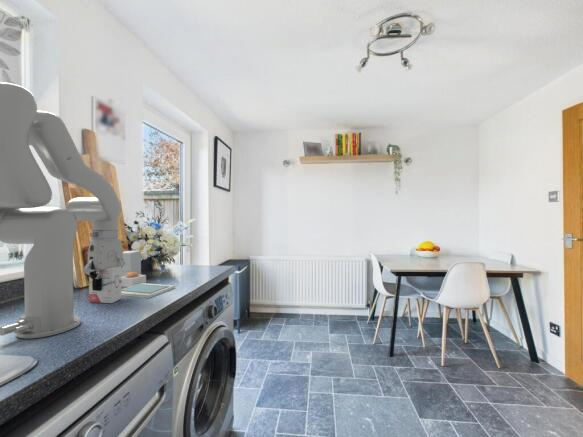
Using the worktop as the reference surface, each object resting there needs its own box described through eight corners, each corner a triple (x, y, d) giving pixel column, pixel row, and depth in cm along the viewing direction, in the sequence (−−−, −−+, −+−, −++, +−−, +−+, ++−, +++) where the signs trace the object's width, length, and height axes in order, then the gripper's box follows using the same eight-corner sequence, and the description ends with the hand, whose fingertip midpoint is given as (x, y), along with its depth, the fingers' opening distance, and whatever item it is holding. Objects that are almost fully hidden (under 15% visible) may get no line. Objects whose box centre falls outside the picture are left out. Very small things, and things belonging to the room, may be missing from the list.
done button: (132, 280, 113) (132, 274, 113) (124, 279, 114) (124, 273, 114) (140, 277, 117) (140, 272, 117) (132, 277, 118) (132, 271, 118)
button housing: (132, 287, 111) (132, 278, 111) (118, 286, 113) (118, 277, 113) (146, 283, 118) (146, 275, 118) (132, 282, 120) (132, 274, 120)
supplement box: (141, 277, 129) (141, 250, 129) (131, 281, 122) (130, 252, 122) (127, 277, 130) (126, 250, 130) (115, 280, 123) (115, 252, 123)
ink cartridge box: (87, 302, 92) (87, 258, 92) (99, 298, 97) (99, 256, 97) (111, 303, 91) (111, 259, 91) (122, 299, 96) (122, 257, 96)
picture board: (148, 298, 97) (148, 295, 97) (112, 294, 101) (112, 291, 101) (174, 288, 110) (174, 285, 110) (142, 285, 115) (142, 282, 115)
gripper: (89, 237, 85) (89, 295, 85) (134, 234, 101) (134, 283, 101) (71, 236, 86) (71, 294, 87) (118, 233, 103) (118, 281, 103)
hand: (105, 287), depth 94 cm, fingers closed on ink cartridge box, 5 cm apart
